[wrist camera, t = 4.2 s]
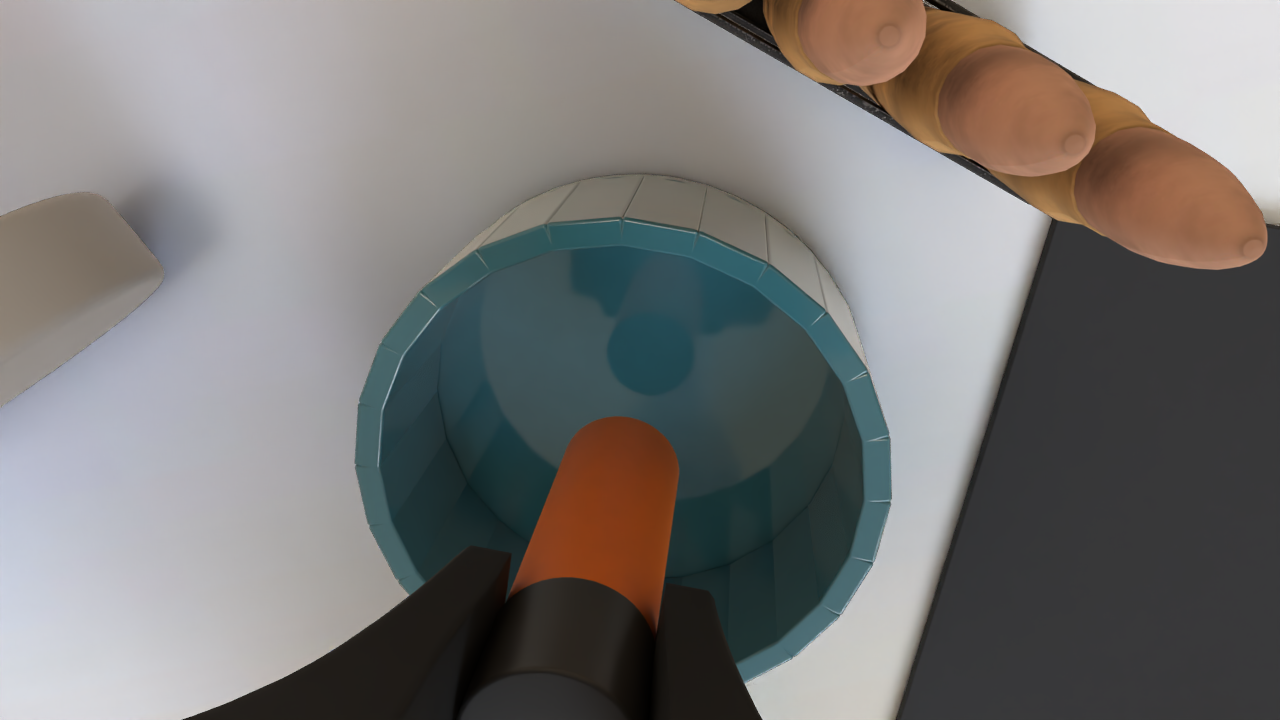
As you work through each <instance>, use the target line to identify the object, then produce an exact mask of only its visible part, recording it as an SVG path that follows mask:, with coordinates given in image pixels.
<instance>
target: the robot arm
mask: <svg viewBox="0 0 1280 720" xmlns="http://www.w3.org/2000/svg"><path fill="white" fill-rule="evenodd" d="M511 556H512V553H509V552H503V551H498V550H493V549H488V548H483V547H477V546H472V545H470V546H469V547H467V548H465V549H464V550H462V551H461V552H460V553H459V554H458V555H457V556H455V557H454V558H453V559H452V560H451V561H450V562H449V563H448V564H446V565H445V566H444V567H443V568H442V569H441V570H440V571H438V572H437V573H436V574H435V575H434V576H433V577H431V578H430V579H429V580H428V581H427V582H425V583H424V584H423V585H422V586H421V587H420V588H418V589H417V590H416V591H415V592H413V593H412V594H411V595H409V596H408V597H407V598H406V599H404V600H403V601H402V602H401V603H399V604H398V605H397V606H395V607H394V608H393V609H392V610H390V611H389V612H388V613H386V614H385V615H384V616H382V617H381V618H380V619H378V620H377V621H375V622H374V623H372V624H371V625H370V626H368V627H367V628H365V629H364V630H362V631H361V632H359V633H358V634H356V635H355V636H354V637H352V638H351V639H349V640H348V641H346V642H345V643H343V644H342V645H340V646H339V647H337V648H335V649H334V650H332V651H331V652H329V653H327V654H326V655H324V656H323V657H321V658H319V659H317V660H316V661H314V662H312V663H311V664H309V665H307V666H305V667H303V668H301V669H300V670H298V671H296V672H294V673H292V674H290V675H288V676H286V677H284V678H282V679H280V680H278V681H276V682H273V683H271V684H269V685H267V686H264V687H262V688H260V689H258V690H255V691H253V692H251V693H249V694H247V695H244V696H242V697H240V698H238V699H235V700H233V701H231V702H229V703H226V704H224V705H221V706H218V707H216V708H213V709H210V710H208V711H205V712H202V713H200V714H197V715H194V716H192V717H189V718H186V719H183V720H456V718H457V715H458V712H459V709H460V707H461V704H462V702H463V699H464V697H465V694H466V692H467V689H468V687H469V684H470V682H471V679H472V677H473V674H474V672H475V669H476V667H477V664H478V662H479V659H480V657H481V654H482V652H483V649H484V647H485V645H486V642H487V640H488V638H489V636H490V633H491V631H492V628H493V626H494V623H495V621H496V618H497V616H498V613H499V611H500V610H501V608H502V607H503V606H504V604H505V602H506V595H507V587H508V579H509V571H510V563H511ZM648 720H762V718H761V716H760V714H759V713H758V711H757V709H756V707H755V705H754V703H753V701H752V699H751V697H750V695H749V693H748V690H747V688H746V686H745V684H744V682H743V679H742V677H741V675H740V673H739V670H738V668H737V666H736V664H735V661H734V659H733V656H732V654H731V651H730V649H729V646H728V643H727V640H726V638H725V635H724V632H723V629H722V626H721V623H720V620H719V616H718V613H717V609H716V605H715V600H714V598H713V597H712V595H711V594H710V592H709V591H707V590H702V589H697V588H692V587H687V586H681V585H676V584H671V583H666V586H665V591H664V596H663V601H662V607H661V612H660V617H659V622H658V627H657V632H656V638H655V651H654V658H653V665H652V682H651V695H650V707H649V715H648Z"/></svg>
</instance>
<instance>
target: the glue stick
mask: <svg viewBox="0 0 1280 720" xmlns="http://www.w3.org/2000/svg"><path fill="white" fill-rule="evenodd" d="M678 479H679V465H678V460H677V457H676V453H675V451H674V449H673V447H672V446H671V444H670V443H669V441H668V440H667V439H666V438H665V436H664V435H663V434H662V433H660V432H659V431H658V430H657V429H655V428H654V427H653V426H651V425H649V424H647V423H645V422H643V421H641V420H638V419H634V418H630V417H623V416H614V417H606V418H602V419H598V420H596V421H593V422H591V423H589V424H588V425H586V426H584V427H583V428H582V429H580V430H579V431H578V432H577V433H576V434H575V435H574V437H573V438H572V439H571V441H570V443H569V444H568V446H567V449H566V451H565V454H564V456H563V459H562V461H561V464H560V466H559V469H558V472H557V474H556V477H555V479H554V482H553V484H552V487H551V489H550V492H549V494H548V497H547V499H546V502H545V505H544V507H543V510H542V512H541V515H540V517H539V520H538V522H537V525H536V527H535V530H534V533H533V535H532V538H531V540H530V543H529V545H528V548H527V550H526V553H525V555H524V558H523V561H522V563H521V566H520V568H519V571H518V573H517V576H516V578H515V581H514V583H513V586H512V588H511V591H510V594H509V596H508V599H507V601H506V603H505V604H504V606H503V607H502V608H501V610H500V611H499V613H498V616H497V618H496V621H495V623H494V626H493V628H492V631H491V633H490V636H489V638H488V640H487V642H486V645H485V647H484V649H483V652H482V654H481V657H480V659H479V662H478V664H477V667H476V669H475V672H474V674H473V677H472V679H471V682H470V684H469V687H468V689H467V692H466V694H465V697H464V699H463V702H462V704H461V707H460V709H459V712H458V715H457V718H456V720H648V715H649V707H650V695H651V682H652V665H653V658H654V651H655V638H656V632H657V625H658V618H659V611H660V604H661V597H662V591H663V584H664V577H665V570H666V563H667V556H668V549H669V542H670V535H671V528H672V521H673V514H674V507H675V500H676V493H677V486H678Z"/></svg>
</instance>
